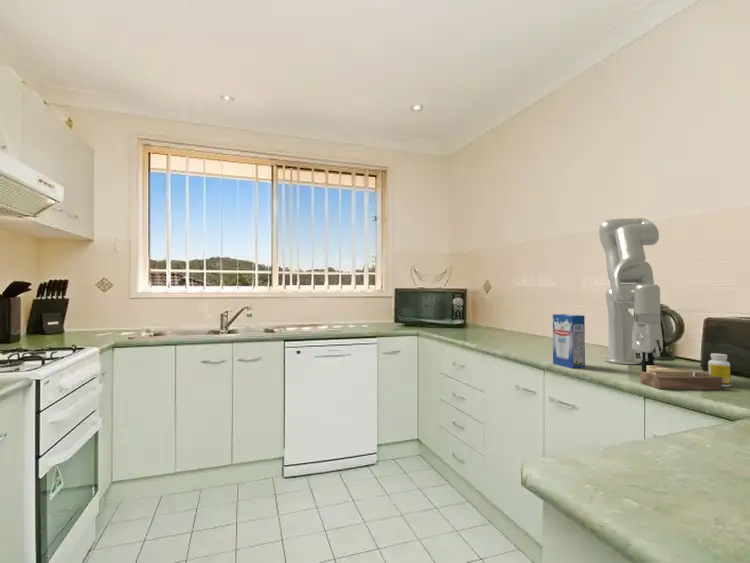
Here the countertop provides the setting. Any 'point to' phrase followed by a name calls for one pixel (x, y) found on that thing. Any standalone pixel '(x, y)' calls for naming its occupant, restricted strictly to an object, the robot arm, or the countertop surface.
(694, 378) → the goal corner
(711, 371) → the supplement bottle
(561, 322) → the milk carton
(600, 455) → the countertop surface
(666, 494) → the countertop surface
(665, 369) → the t block
